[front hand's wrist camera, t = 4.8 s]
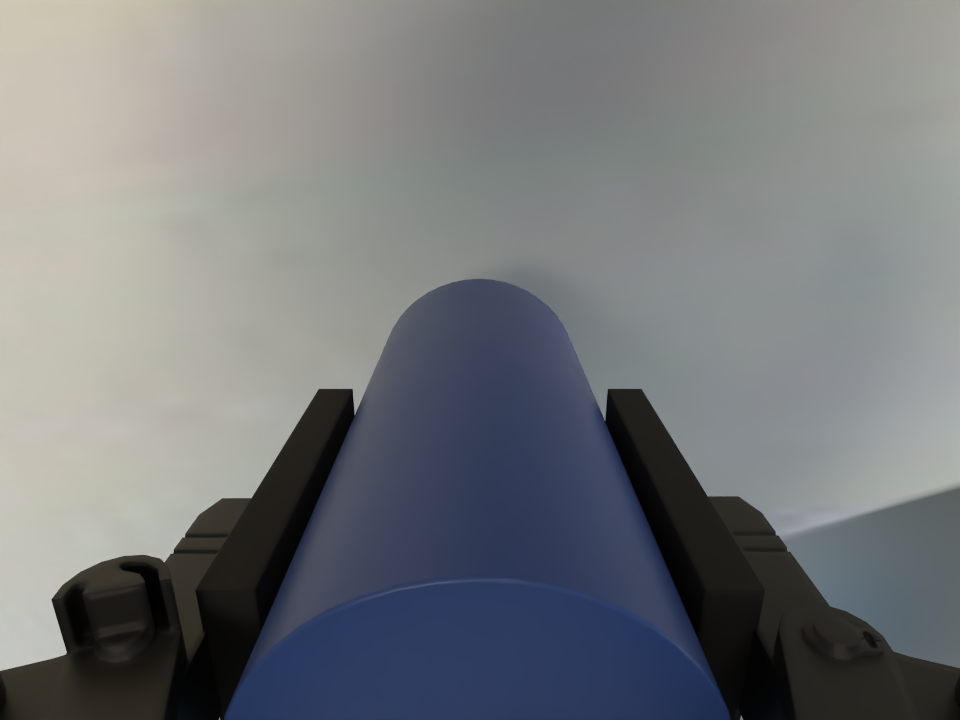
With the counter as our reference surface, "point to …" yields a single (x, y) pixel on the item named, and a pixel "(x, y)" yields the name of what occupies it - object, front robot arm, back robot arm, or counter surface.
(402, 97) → the counter surface
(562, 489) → the can
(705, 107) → the counter surface
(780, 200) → the counter surface
